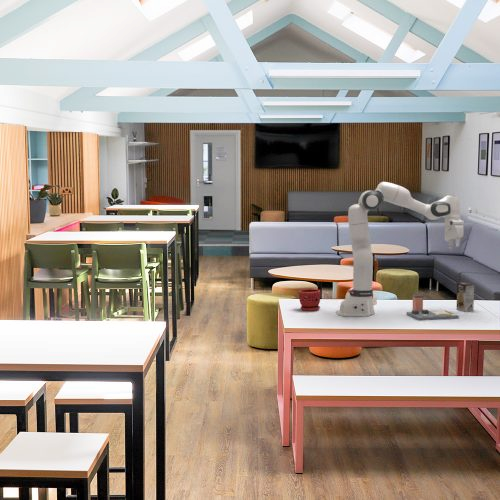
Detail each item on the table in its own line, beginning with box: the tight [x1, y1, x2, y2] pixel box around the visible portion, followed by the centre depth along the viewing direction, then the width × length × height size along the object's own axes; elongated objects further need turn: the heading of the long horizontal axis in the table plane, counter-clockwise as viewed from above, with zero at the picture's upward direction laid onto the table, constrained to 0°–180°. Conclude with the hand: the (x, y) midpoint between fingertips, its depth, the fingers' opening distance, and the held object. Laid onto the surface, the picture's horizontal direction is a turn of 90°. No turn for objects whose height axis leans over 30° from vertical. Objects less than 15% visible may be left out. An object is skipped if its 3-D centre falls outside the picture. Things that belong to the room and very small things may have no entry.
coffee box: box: [456, 281, 475, 313], centre depth 460 cm, size 9×6×16 cm
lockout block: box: [411, 293, 425, 312], centre depth 457 cm, size 5×5×10 cm
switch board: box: [406, 309, 460, 322], centre depth 442 cm, size 24×17×3 cm
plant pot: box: [298, 288, 322, 312], centre depth 466 cm, size 13×13×12 cm
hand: (454, 247), depth 446 cm, fingers open, 8 cm apart
